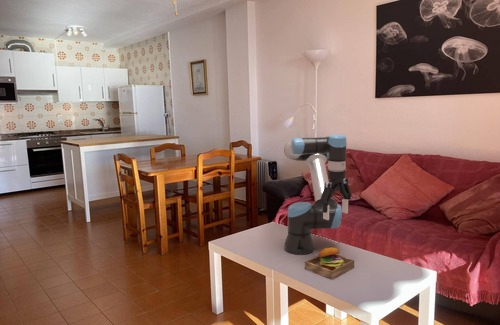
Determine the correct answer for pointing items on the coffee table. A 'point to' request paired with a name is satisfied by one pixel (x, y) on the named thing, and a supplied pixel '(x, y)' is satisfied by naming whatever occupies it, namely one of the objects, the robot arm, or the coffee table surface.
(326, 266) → the cheeseburger
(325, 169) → the robot arm
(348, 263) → the crate
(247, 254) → the coffee table surface
